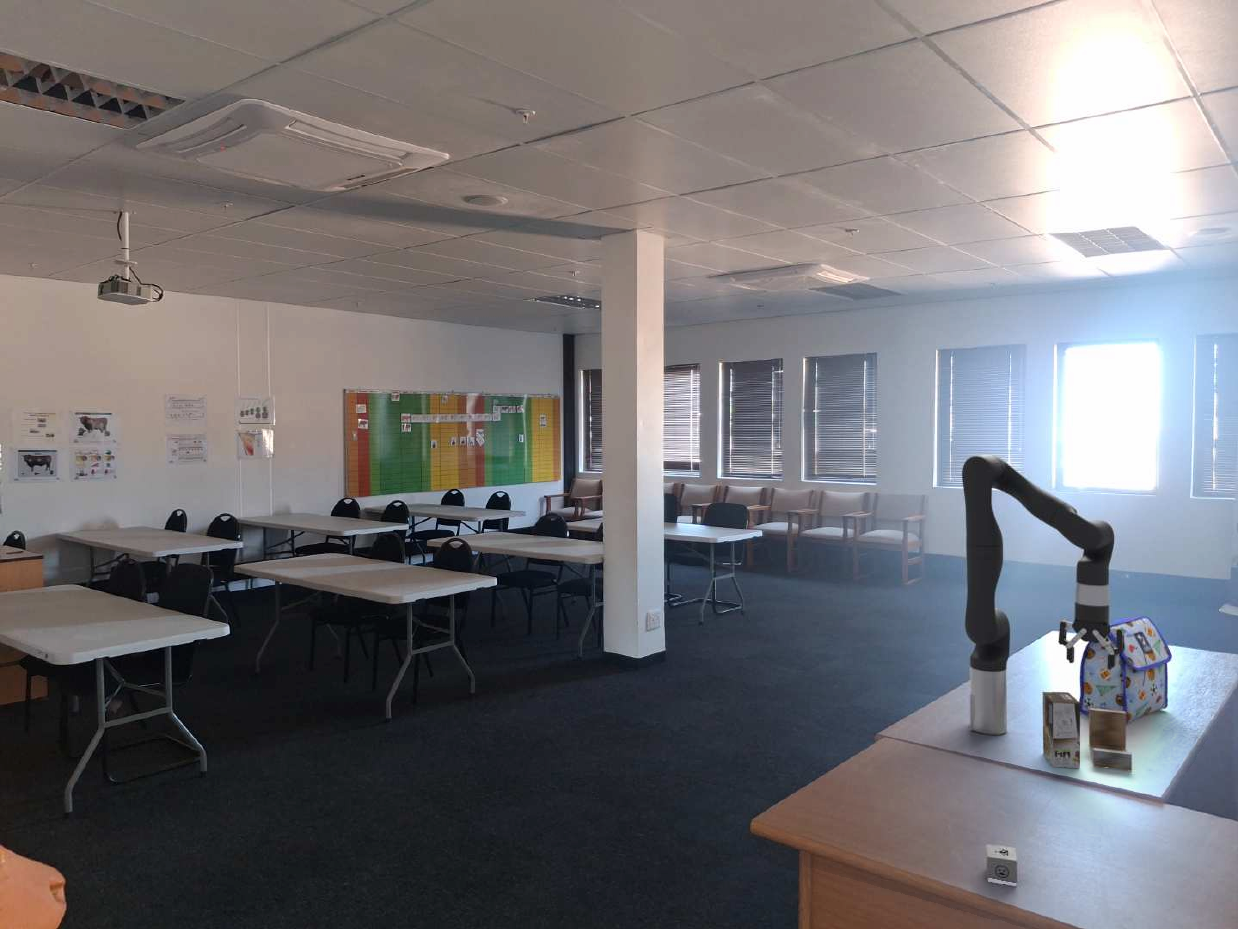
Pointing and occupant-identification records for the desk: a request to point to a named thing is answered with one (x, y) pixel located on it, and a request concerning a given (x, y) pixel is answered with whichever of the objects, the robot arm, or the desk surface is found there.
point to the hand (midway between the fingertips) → (1090, 665)
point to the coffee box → (1061, 729)
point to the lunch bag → (1127, 671)
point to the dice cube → (1001, 863)
